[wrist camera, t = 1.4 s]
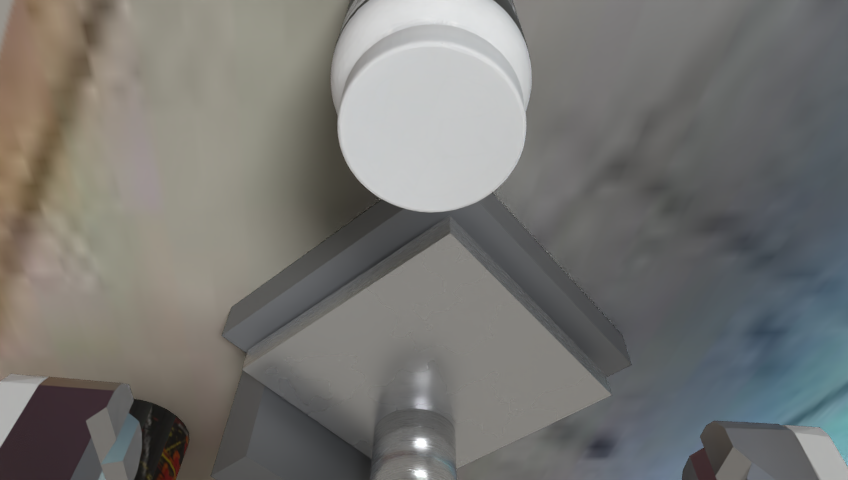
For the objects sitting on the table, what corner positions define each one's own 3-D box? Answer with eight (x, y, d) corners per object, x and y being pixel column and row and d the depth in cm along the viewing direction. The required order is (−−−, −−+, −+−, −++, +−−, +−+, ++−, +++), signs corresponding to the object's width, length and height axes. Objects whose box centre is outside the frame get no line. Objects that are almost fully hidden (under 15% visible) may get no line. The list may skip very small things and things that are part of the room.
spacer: (419, 397, 31) (418, 472, 28) (471, 438, 33) (476, 513, 30) (357, 431, 33) (348, 506, 29) (410, 469, 34) (407, 543, 31)
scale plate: (449, 215, 26) (450, 233, 25) (606, 375, 32) (611, 395, 31) (247, 350, 31) (242, 369, 30) (414, 469, 36) (414, 489, 35)
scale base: (452, 149, 28) (457, 252, 22) (622, 335, 34) (659, 452, 28) (192, 335, 34) (144, 451, 29) (374, 462, 41) (365, 577, 35)
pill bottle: (499, 87, 26) (528, 237, 18) (354, 79, 26) (319, 227, 18) (519, -72, 23) (566, 28, 15) (352, -82, 22) (308, 14, 14)
